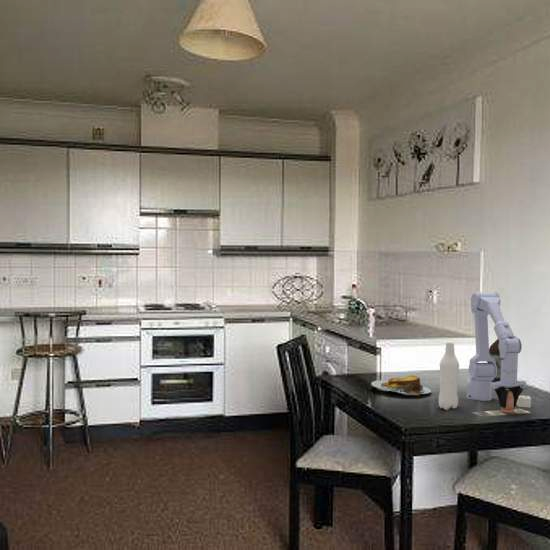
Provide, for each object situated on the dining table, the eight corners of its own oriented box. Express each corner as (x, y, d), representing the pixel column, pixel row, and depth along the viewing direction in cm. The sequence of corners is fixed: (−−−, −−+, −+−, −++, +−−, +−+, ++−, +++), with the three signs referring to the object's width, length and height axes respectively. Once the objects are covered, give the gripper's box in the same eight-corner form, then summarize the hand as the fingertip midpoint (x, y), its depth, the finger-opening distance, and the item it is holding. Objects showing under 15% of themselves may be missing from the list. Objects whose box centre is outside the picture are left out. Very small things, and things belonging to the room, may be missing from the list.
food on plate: (371, 384, 274) (371, 369, 273) (428, 387, 270) (428, 372, 270) (371, 397, 249) (371, 381, 248) (433, 401, 245) (434, 384, 244)
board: (483, 419, 217) (483, 417, 217) (470, 414, 224) (470, 412, 224) (532, 415, 225) (532, 412, 225) (518, 410, 231) (518, 408, 231)
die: (518, 409, 233) (518, 397, 233) (516, 406, 238) (516, 395, 238) (530, 410, 232) (531, 398, 232) (528, 407, 237) (529, 395, 236)
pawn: (500, 412, 224) (500, 390, 224) (501, 409, 228) (502, 388, 228) (513, 414, 222) (514, 392, 222) (515, 411, 226) (515, 390, 226)
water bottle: (458, 411, 228) (461, 345, 227) (439, 410, 229) (441, 344, 228) (456, 407, 235) (458, 342, 234) (437, 405, 236) (439, 341, 235)
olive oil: (495, 382, 282) (497, 328, 281) (517, 386, 273) (519, 331, 272) (482, 385, 275) (484, 330, 274) (504, 389, 267) (506, 333, 266)
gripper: (500, 373, 218) (499, 410, 219) (532, 371, 223) (531, 408, 224) (487, 369, 225) (486, 406, 225) (519, 367, 230) (517, 403, 230)
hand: (507, 406), depth 225 cm, fingers closed on pawn, 4 cm apart
